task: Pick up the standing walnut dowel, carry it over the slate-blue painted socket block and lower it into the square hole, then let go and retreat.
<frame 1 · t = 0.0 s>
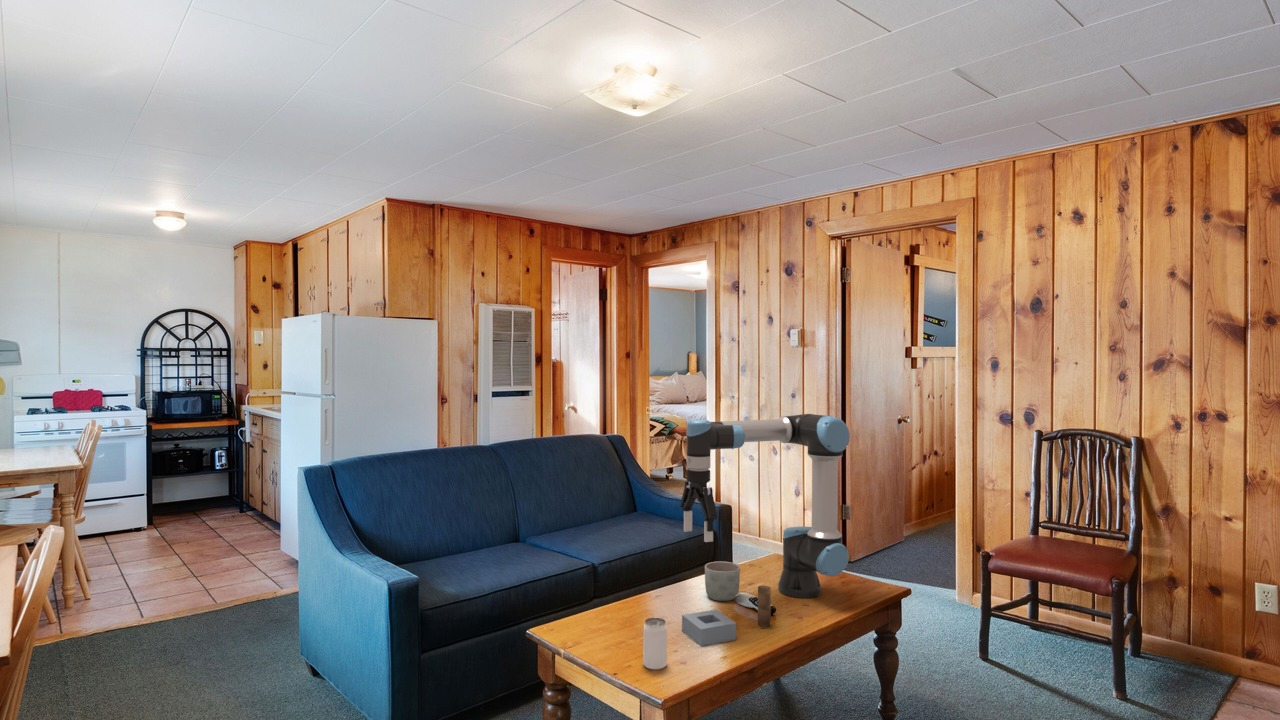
hand: (697, 536, 216), 28 cm above the table, fingers open, 13 cm apart
dowel: (764, 625, 216), on the table
socket: (708, 635, 208), on the table
can: (655, 665, 188), on the table
planter: (722, 597, 242), on the table
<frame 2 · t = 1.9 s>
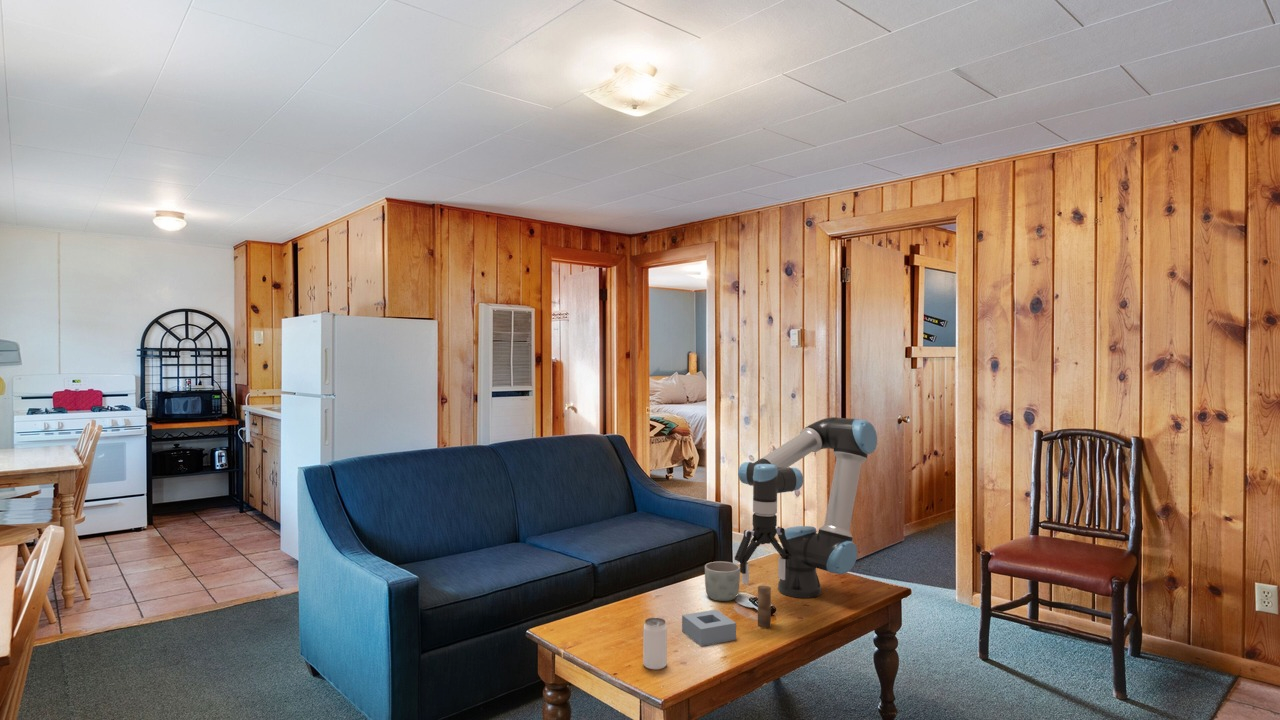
hand: (763, 581, 216), 14 cm above the table, fingers open, 13 cm apart
nothing on the table moved.
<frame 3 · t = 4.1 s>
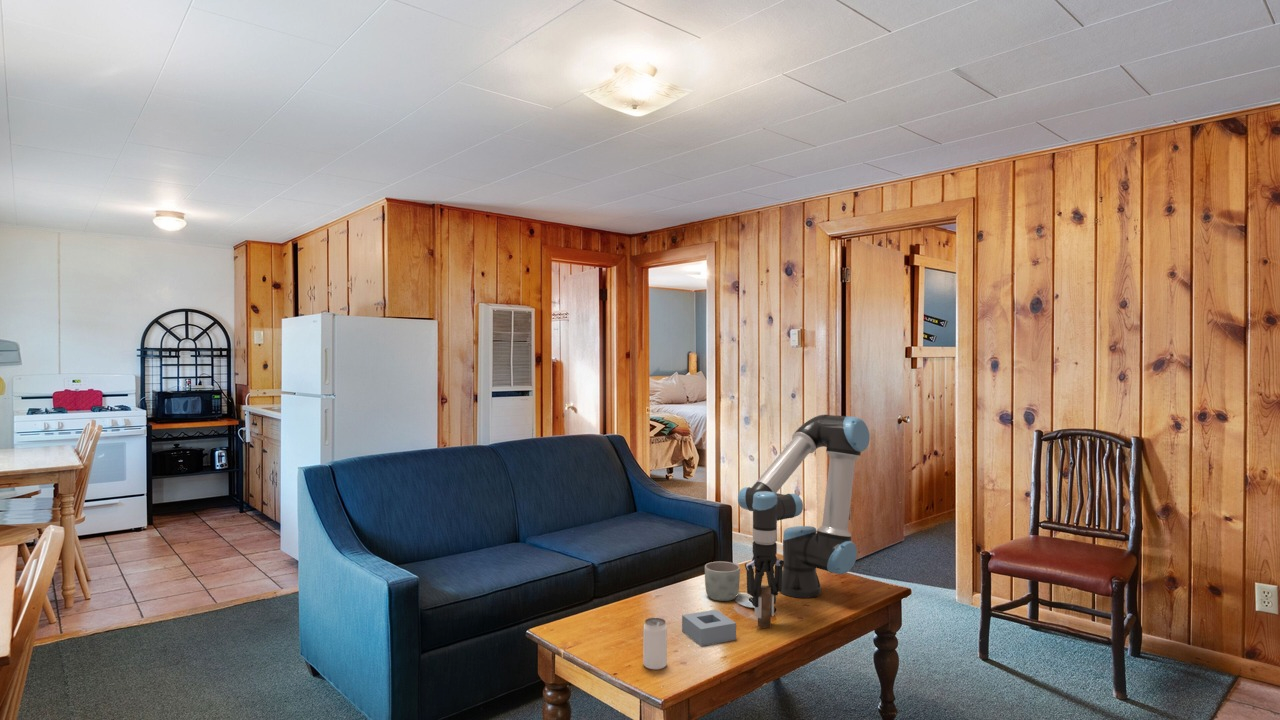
hand: (764, 615, 216), 3 cm above the table, fingers closed on dowel, 4 cm apart
dowel: (764, 625, 216), on the table, touching gripper
everything else where it was.
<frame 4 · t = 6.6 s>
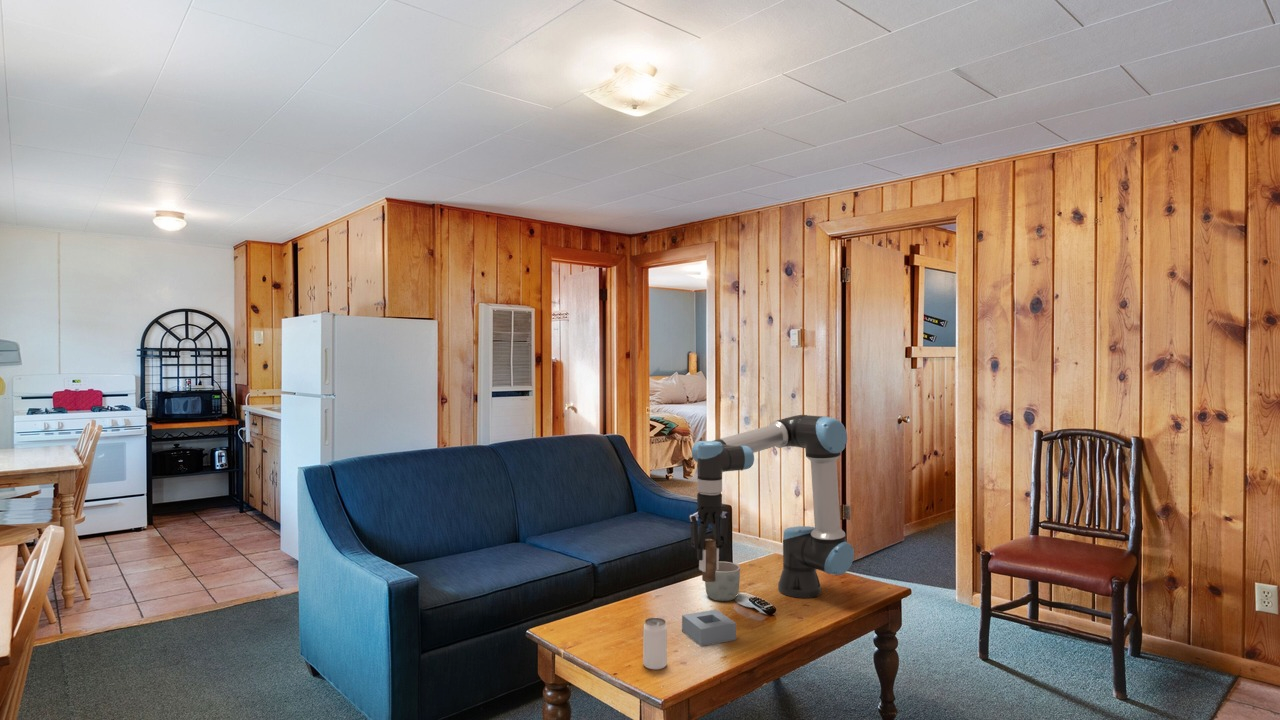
hand: (708, 569, 208), 20 cm above the table, fingers closed on dowel, 4 cm apart
dowel: (708, 580, 208), point 17 cm above the table, touching gripper
everything else where it was.
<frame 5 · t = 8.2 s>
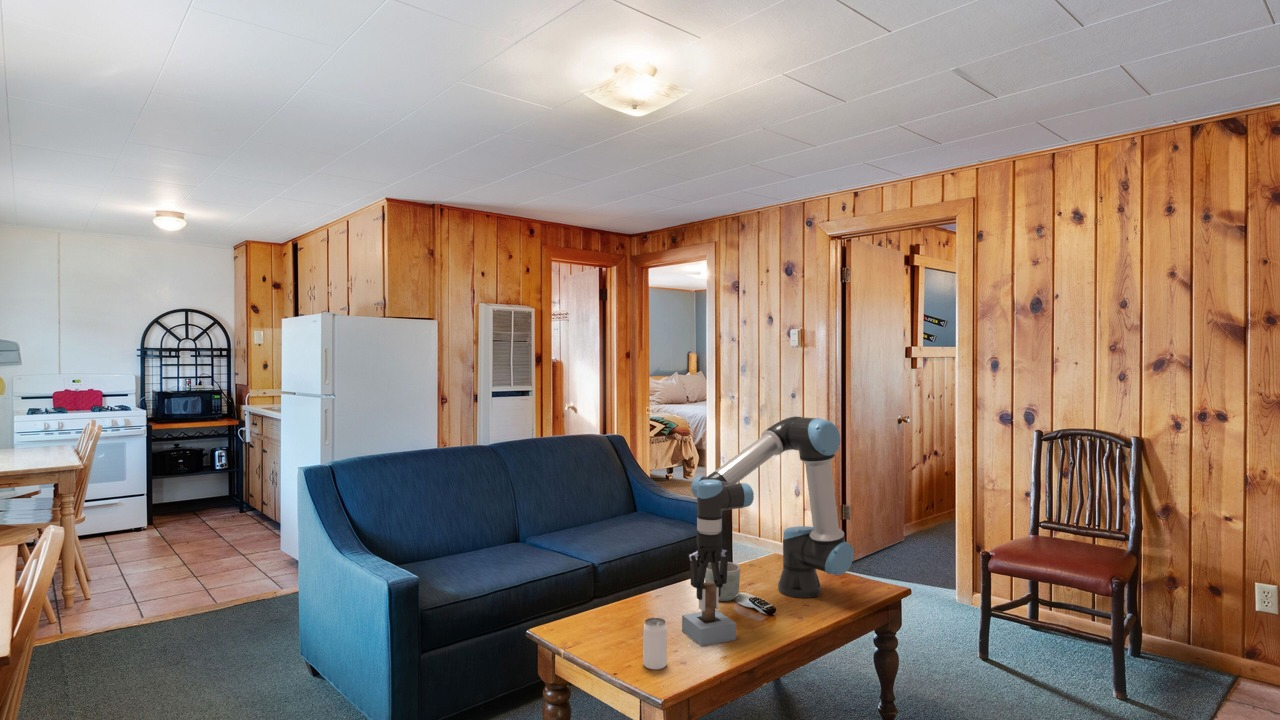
hand: (708, 608, 208), 8 cm above the table, fingers closed on dowel, 4 cm apart
dowel: (708, 623, 208), point 4 cm above the table, touching gripper
everything else where it was.
when the fingers open (6 cm above the table, at t = 9.6 s): dowel stays where it is, resting on socket.
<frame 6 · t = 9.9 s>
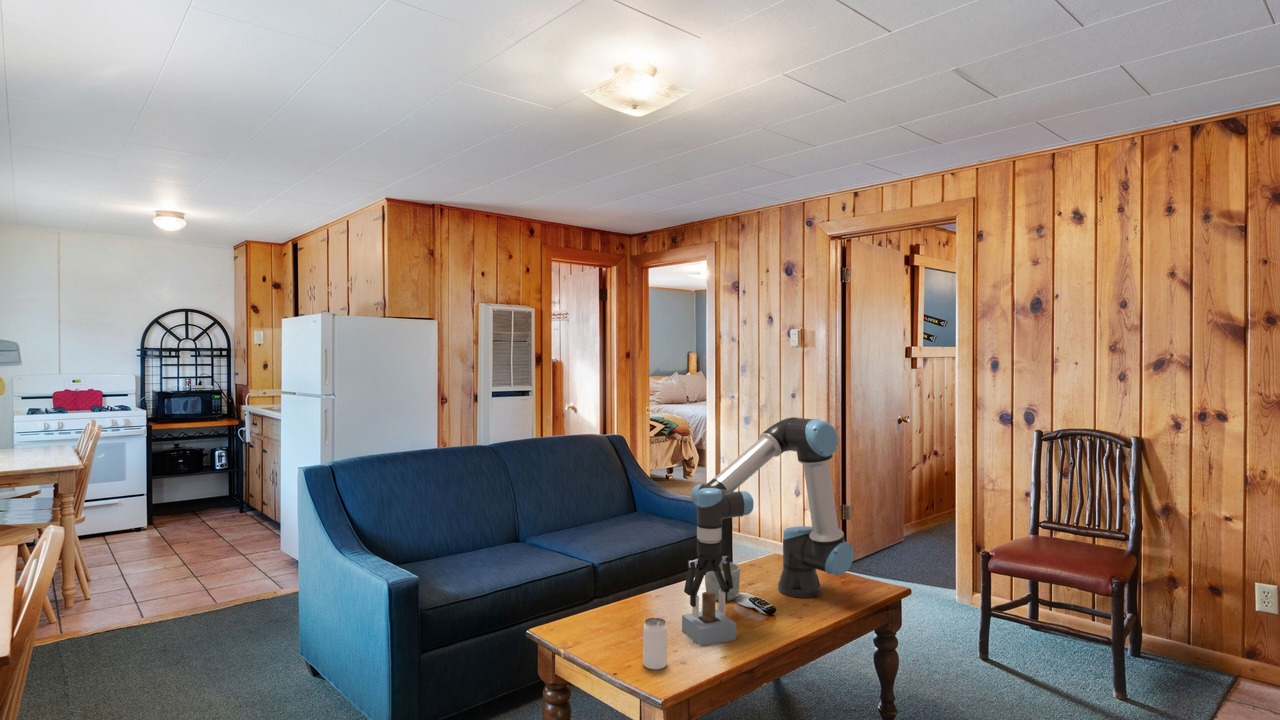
hand: (708, 614, 208), 6 cm above the table, fingers open, 8 cm apart
dowel: (708, 633, 208), point 1 cm above the table, touching socket
everything else where it was.
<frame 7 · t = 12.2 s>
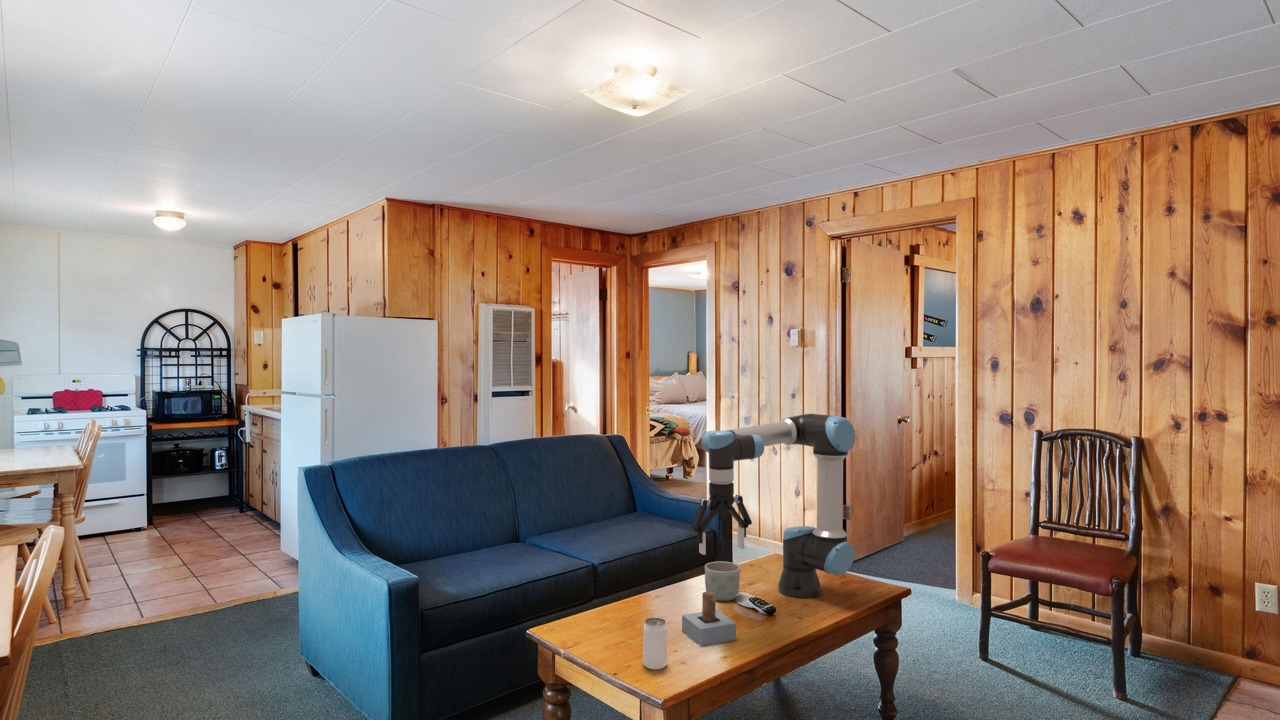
hand: (721, 550, 210), 25 cm above the table, fingers open, 13 cm apart
nothing on the table moved.
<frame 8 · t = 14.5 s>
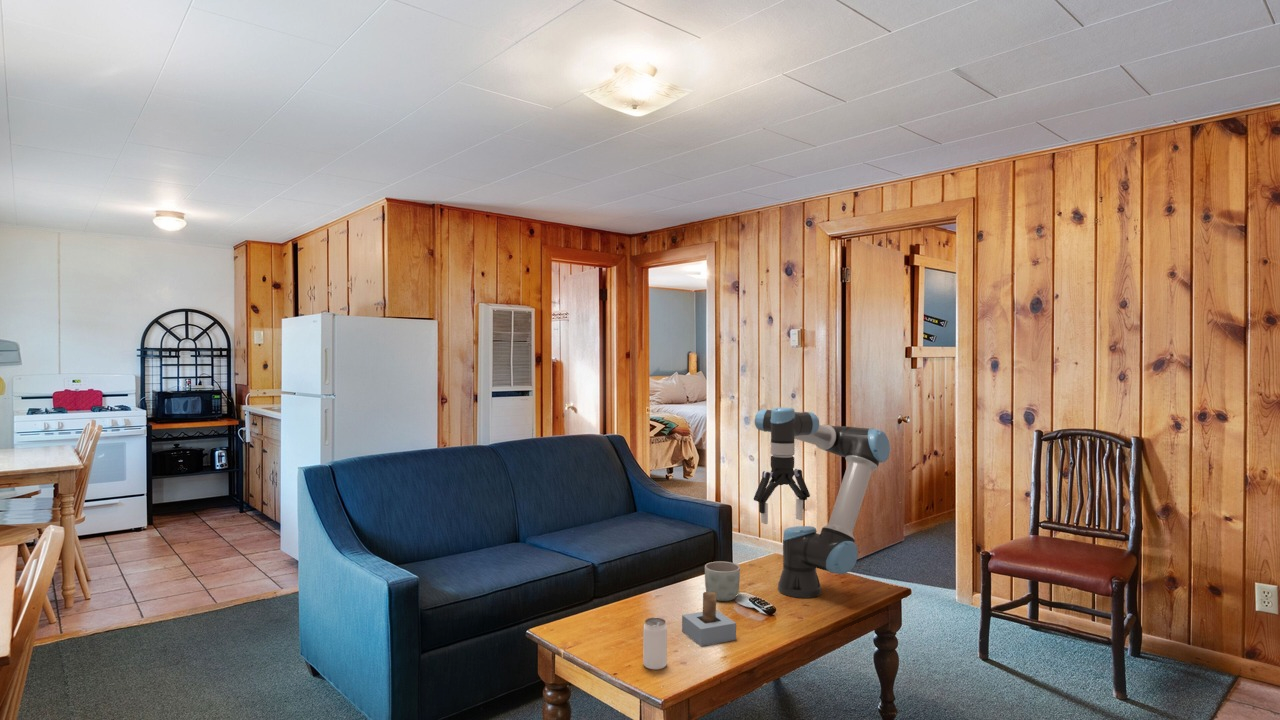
hand: (782, 521, 221), 32 cm above the table, fingers open, 13 cm apart
nothing on the table moved.
at the end: dowel 0.0 cm off-centre on the socket, point 0.6 cm above the socket's base; dowel tilted 1°; the gripper is holding nothing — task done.
